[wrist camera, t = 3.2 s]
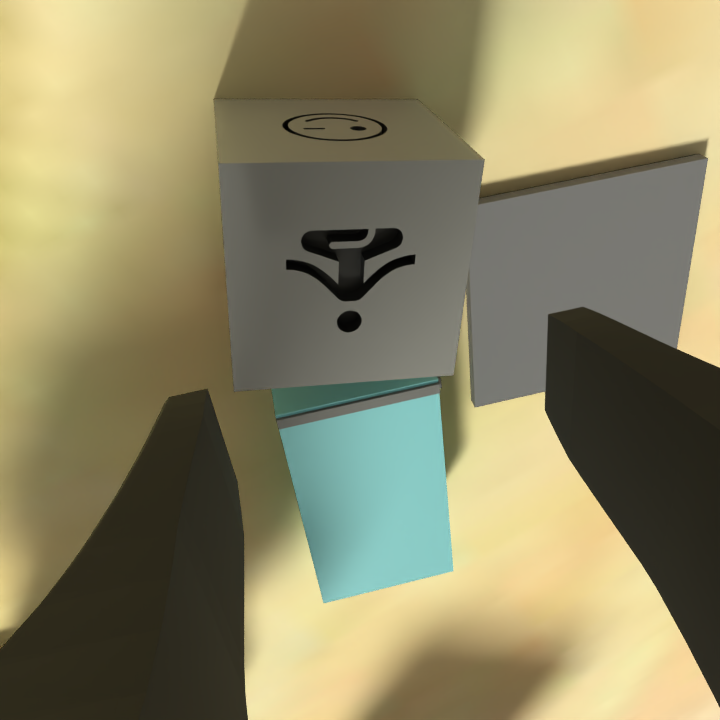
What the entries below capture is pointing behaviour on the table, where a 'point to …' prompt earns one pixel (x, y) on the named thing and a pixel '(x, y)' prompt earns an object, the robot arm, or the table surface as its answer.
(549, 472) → the table surface
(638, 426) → the robot arm
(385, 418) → the turquoise box
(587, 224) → the stub pad
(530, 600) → the table surface
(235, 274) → the dice cube
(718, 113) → the table surface
